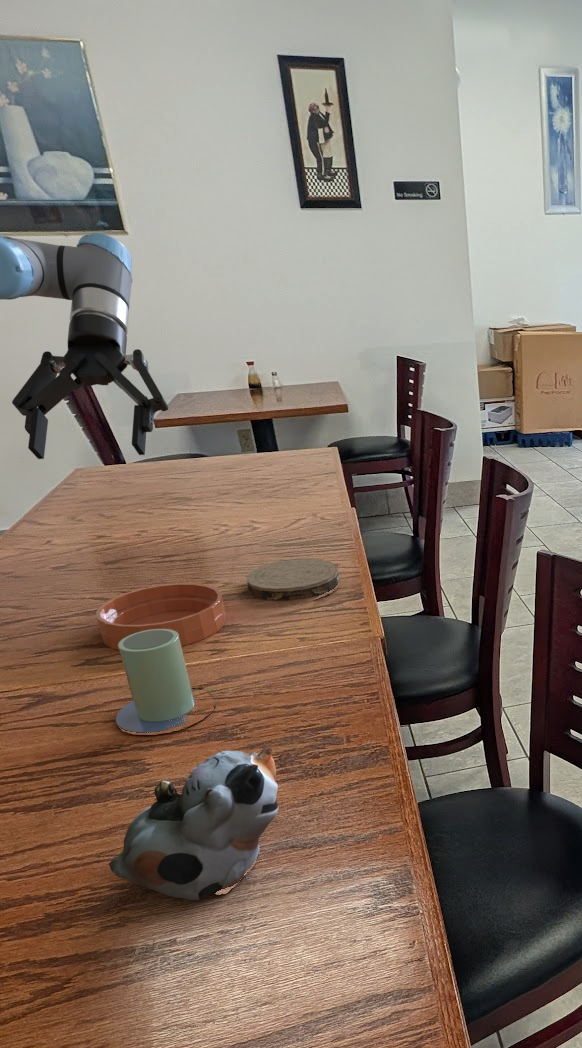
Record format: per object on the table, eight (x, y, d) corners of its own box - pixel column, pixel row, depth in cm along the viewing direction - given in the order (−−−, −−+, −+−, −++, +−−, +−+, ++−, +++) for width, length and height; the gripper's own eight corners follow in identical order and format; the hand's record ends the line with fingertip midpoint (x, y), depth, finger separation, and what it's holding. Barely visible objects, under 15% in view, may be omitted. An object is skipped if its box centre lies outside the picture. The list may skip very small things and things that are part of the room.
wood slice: (243, 608, 141) (240, 592, 140) (255, 577, 155) (252, 562, 154) (338, 600, 144) (336, 584, 142) (341, 570, 158) (339, 556, 156)
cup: (126, 721, 105) (106, 650, 100) (153, 695, 111) (136, 627, 107) (179, 722, 105) (161, 651, 100) (204, 696, 111) (188, 628, 106)
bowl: (79, 655, 124) (70, 625, 122) (141, 610, 141) (134, 583, 139) (196, 657, 123) (189, 626, 121) (245, 611, 140) (239, 583, 138)
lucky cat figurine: (161, 822, 86) (204, 703, 84) (269, 864, 87) (315, 747, 85) (81, 883, 72) (132, 740, 70) (212, 932, 73) (266, 793, 71)
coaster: (97, 735, 103) (96, 731, 103) (146, 690, 114) (145, 687, 114) (190, 737, 102) (189, 733, 102) (230, 692, 113) (229, 688, 113)
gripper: (194, 344, 127) (189, 462, 120) (22, 349, 124) (7, 470, 117) (177, 309, 120) (170, 432, 113) (-5, 312, 117) (-24, 439, 110)
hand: (87, 451), depth 115 cm, fingers open, 13 cm apart
